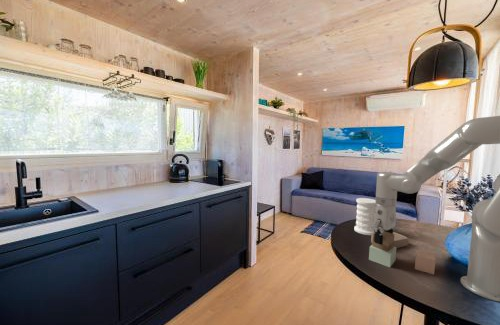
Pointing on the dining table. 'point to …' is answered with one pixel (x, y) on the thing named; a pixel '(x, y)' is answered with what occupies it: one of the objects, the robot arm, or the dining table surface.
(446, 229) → the dining table surface
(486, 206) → the robot arm
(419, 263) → the terracotta cube
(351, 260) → the dining table surface
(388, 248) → the walnut cube
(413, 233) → the dining table surface
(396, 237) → the brick
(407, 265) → the dining table surface
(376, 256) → the base block
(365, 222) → the decorative container
